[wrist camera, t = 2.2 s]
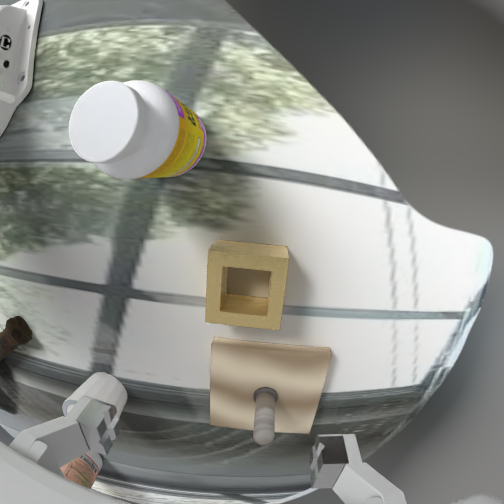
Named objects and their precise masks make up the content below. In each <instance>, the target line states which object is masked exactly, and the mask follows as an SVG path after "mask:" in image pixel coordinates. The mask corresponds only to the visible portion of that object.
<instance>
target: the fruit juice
mask: <svg viewBox="0 0 504 504" xmlns="http://www.w3.org/2000/svg"><path fill="white" fill-rule="evenodd" d="M102 465H103V461H102V458H101V456H100V455H99V453H97V452H94V451H91V450H89V451H88V452H87V453H85V454H83V455H82V456H80V457H78V458H76V459H75V460H73V461H71V462H69V463H68V464H66V465H64V466H62V467H60V469H61V471H62V473H63V474H64V476H65V478H66V479H69V480H71V481H73V482H75V483H78V484H80V485H82V486H85V487H87V488H89V489H91V487H92V485H93V483H94V481H95V480H96V478H97V476H98V474H99V472H100V470H101V468H102Z"/></svg>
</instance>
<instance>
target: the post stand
mask: <svg viewBox="0 0 504 504" xmlns="http://www.w3.org/2000/svg"><path fill="white" fill-rule="evenodd" d="M331 356H332V355H331V351H330V348H329V347H313V346H298V345H285V344H273V343H262V342H253V341H243V340H234V339H226V338H218V337H214V339H213V341H212V344H211V382H210V425H214V426H221V427H229V428H237V429H246V430H253V438H254V440H255V442H256V443H258V444H260V445H267V444H269V443H271V442H272V441H273V439H274V436H275V432H284V433H310V430H311V427H312V423H313V420H314V417H315V414H316V410H317V407H318V404H319V400H320V397H321V393H322V390H323V386H324V382H325V379H326V375H327V371H328V368H329V364H330V360H331Z"/></svg>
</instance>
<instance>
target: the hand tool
mask: <svg viewBox="0 0 504 504" xmlns="http://www.w3.org/2000/svg"><path fill="white" fill-rule="evenodd" d="M31 339H32V332H31V330H30V329H29V327H28V325H27V324H26V322H25V321H24V320H23V318H22V317H20V316H16V317H14V318H10V319H8V320H7V322H6V328H5V330H3V332H1V333H0V361H1V360H3V359H4V358H5V357H6V356H7V355H8V354H10V353H11V352H12V351H13V350H14V349H16V348H17V347H18V346H19V345H22V344H26V343H27V342H28V341H29V340H31Z"/></svg>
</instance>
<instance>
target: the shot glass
mask: <svg viewBox="0 0 504 504" xmlns="http://www.w3.org/2000/svg"><path fill="white" fill-rule="evenodd" d="M84 395H85V396H88V397H91V398H94V399H97V400H100V401H103V402H106V403H109V404H112V405H114V406H116V409H117V413H116V416H117V417H118V418H119V417H120V415H121V412H122V410H123V408H124V405H125V403H126V401H127V392H126V390H125V387H124V386H123V385H122V384H121V382H120V381H119V380H117V379H116V378H115V377H113V376H112V375H110V374H107V373H105V372H97V373H95V374H93V375H92V376H91V377H90V378H88V379H87V380H86V381H85V382H84V383H83V384H82V385H81V386H80V387H79V388H78V389H77V390H76V391H75V392H74V393H73V394H72V395H71V396H70V397H69V398H67V399H66V400H65V401H64V403H63V406H62V409H63V413H64V415H65V417H66V416H67V414H68V413H69V412H70V410H71V409H72V408H73V407H74V405H75V404H76V403H77V402H78V400H79V399H80V398H81V397H82V396H84Z"/></svg>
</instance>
